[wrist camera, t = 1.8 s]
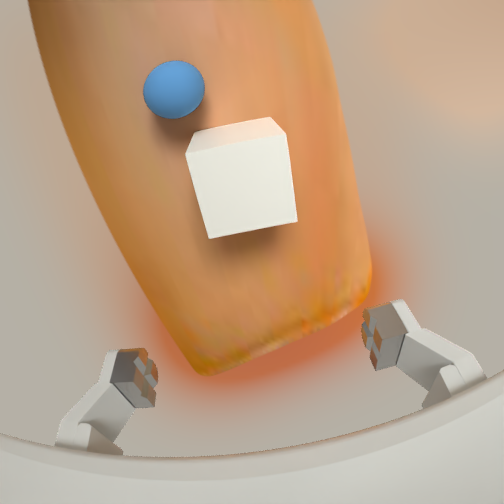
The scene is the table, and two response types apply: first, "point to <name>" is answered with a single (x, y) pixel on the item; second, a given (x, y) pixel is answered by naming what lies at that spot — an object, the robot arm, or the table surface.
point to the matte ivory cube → (242, 176)
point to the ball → (174, 89)
